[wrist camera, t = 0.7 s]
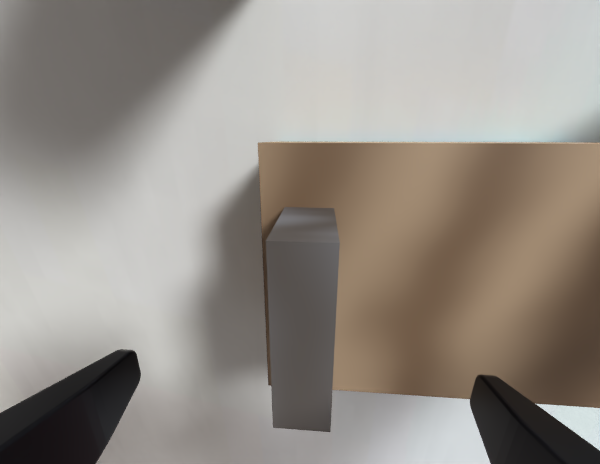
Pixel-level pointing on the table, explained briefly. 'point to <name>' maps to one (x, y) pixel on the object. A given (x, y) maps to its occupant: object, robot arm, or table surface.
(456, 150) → the lid
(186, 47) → the table surface
